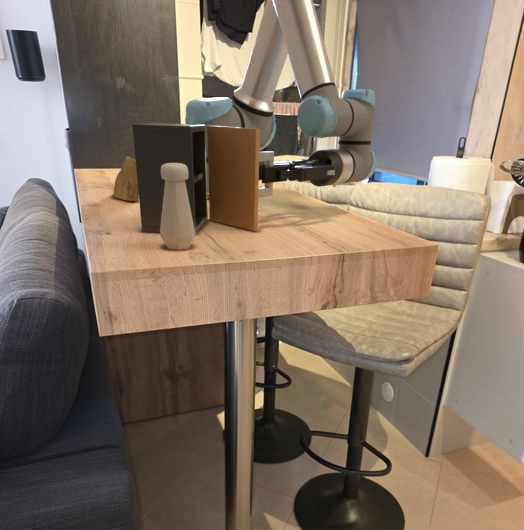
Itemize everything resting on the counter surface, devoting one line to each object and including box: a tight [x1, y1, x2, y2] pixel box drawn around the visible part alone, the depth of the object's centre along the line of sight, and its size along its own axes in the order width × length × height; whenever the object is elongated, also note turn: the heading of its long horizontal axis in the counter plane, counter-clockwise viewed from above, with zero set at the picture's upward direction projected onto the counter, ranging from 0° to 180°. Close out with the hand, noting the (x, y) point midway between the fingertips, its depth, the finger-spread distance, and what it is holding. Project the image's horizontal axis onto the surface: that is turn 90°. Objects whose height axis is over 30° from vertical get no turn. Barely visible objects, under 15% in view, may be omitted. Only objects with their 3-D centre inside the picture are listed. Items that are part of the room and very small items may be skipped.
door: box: [207, 126, 275, 232], centre depth 89 cm, size 7×13×18 cm, turn 46°
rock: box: [111, 155, 139, 202], centre depth 113 cm, size 11×9×10 cm
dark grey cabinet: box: [131, 122, 209, 235], centre depth 86 cm, size 10×13×18 cm
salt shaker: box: [159, 163, 196, 251], centre depth 73 cm, size 6×6×13 cm
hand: (255, 174), depth 86 cm, fingers open, 3 cm apart
